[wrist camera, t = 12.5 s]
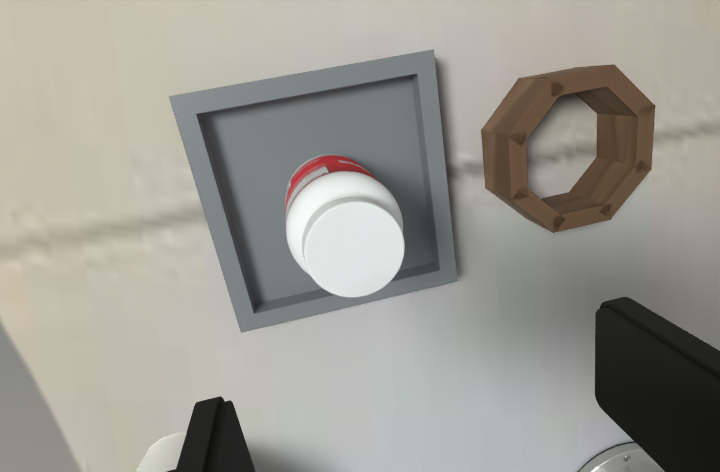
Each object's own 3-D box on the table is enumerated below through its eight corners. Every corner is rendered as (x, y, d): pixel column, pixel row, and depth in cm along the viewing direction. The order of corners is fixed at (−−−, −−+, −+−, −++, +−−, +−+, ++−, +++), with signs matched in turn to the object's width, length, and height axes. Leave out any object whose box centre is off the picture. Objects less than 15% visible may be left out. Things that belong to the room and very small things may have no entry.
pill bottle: (390, 204, 31) (445, 260, 21) (322, 255, 31) (343, 336, 21) (338, 132, 29) (370, 156, 19) (265, 189, 29) (257, 243, 19)
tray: (445, 268, 35) (457, 281, 32) (243, 315, 33) (241, 332, 31) (421, 52, 29) (433, 49, 27) (178, 95, 27) (168, 96, 25)
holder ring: (609, 198, 35) (649, 211, 31) (487, 225, 34) (513, 242, 30) (613, 60, 32) (658, 56, 28) (477, 85, 31) (505, 85, 27)
